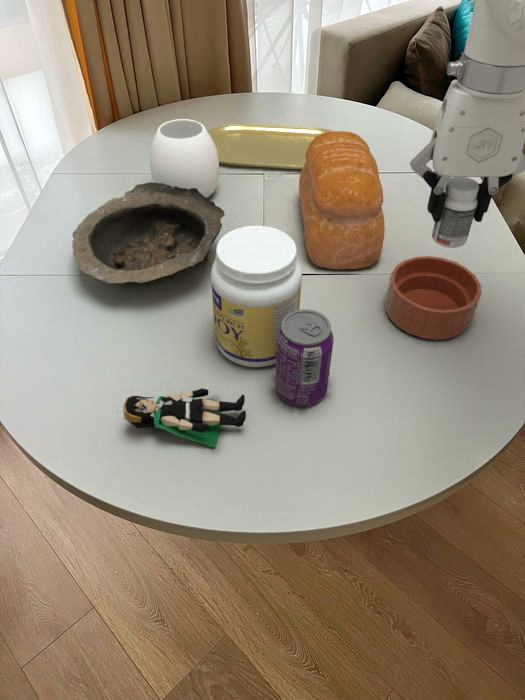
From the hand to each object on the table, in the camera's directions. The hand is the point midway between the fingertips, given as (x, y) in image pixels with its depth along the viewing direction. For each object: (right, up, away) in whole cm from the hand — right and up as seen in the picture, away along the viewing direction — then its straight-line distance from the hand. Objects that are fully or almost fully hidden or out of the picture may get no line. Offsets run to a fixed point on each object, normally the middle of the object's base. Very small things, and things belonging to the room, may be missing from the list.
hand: (455, 215), depth 75 cm
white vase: (-41, +13, +38) cm, 57 cm away
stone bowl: (-45, -3, +22) cm, 50 cm away
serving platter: (-23, +26, +51) cm, 62 cm away
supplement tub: (-27, -17, +9) cm, 33 cm away
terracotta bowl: (0, -12, +13) cm, 18 cm away
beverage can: (-21, -24, +2) cm, 31 cm away
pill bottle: (0, -3, +3) cm, 4 cm away
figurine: (-36, -28, -2) cm, 45 cm away
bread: (-12, +4, +29) cm, 32 cm away
